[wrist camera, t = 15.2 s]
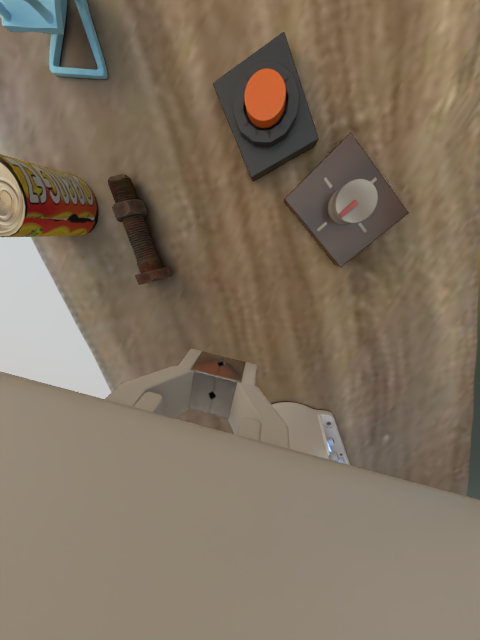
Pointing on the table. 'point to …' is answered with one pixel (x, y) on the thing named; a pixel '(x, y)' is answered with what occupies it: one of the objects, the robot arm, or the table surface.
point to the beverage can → (43, 201)
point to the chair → (53, 30)
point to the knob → (353, 202)
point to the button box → (294, 125)
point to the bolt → (136, 229)
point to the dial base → (321, 185)
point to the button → (265, 98)
